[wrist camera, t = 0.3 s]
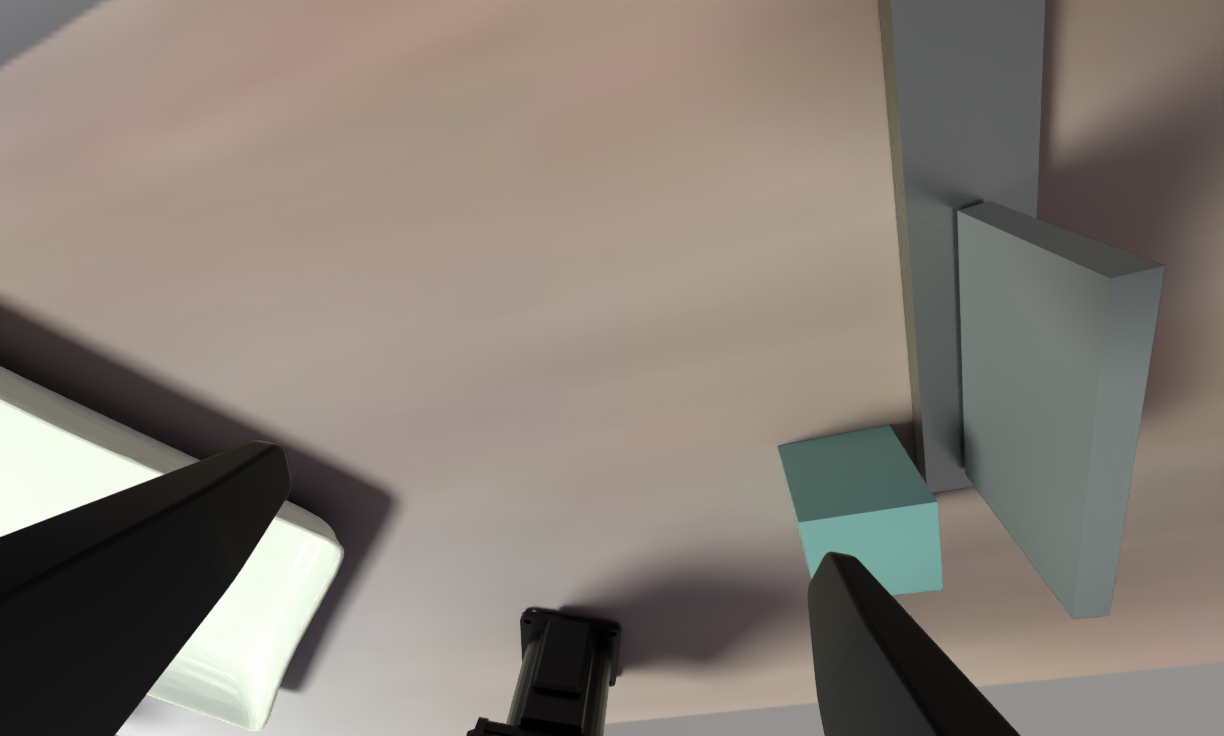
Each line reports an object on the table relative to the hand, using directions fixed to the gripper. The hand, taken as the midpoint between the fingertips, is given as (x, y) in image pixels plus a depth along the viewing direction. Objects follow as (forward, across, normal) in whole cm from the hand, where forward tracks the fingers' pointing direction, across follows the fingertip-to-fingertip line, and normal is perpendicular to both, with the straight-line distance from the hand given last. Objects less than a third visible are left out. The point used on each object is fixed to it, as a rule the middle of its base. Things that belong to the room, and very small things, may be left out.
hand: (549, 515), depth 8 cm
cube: (+14, -12, +9) cm, 21 cm away
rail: (+14, -13, -2) cm, 19 cm away
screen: (+13, -14, +1) cm, 19 cm away
